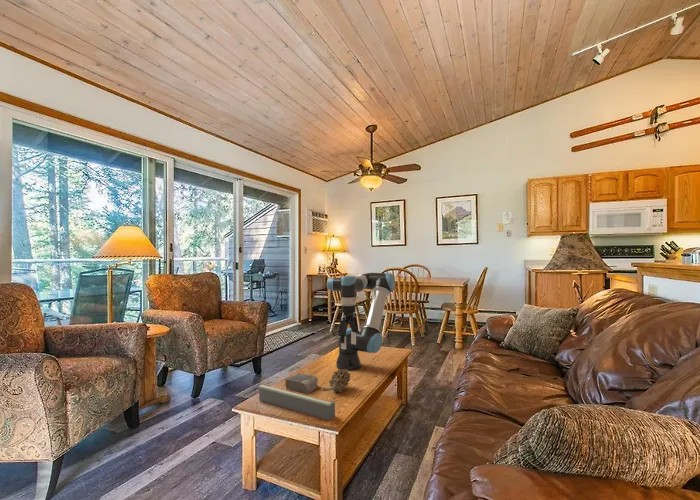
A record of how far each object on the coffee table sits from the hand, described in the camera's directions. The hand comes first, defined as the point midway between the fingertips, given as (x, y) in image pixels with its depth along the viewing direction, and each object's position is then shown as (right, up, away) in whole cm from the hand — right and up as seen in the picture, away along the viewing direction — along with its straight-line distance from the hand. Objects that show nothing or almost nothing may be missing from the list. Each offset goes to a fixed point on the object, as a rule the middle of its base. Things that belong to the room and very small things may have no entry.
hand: (348, 346), depth 175 cm
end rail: (-24, -19, -28) cm, 42 cm away
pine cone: (-6, -20, -12) cm, 24 cm away
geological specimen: (-24, -20, -5) cm, 32 cm away
